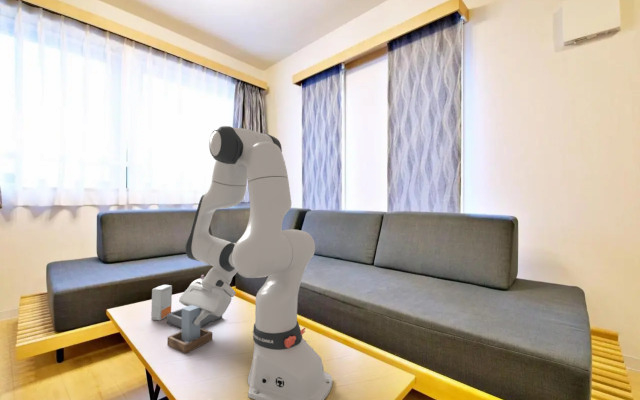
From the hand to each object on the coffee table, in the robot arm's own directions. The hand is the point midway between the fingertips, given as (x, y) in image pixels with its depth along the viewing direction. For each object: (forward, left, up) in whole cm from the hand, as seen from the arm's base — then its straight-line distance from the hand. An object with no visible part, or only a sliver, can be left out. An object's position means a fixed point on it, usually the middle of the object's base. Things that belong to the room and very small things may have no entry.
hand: (189, 322), depth 88 cm
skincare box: (+27, -7, -7) cm, 29 cm away
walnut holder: (0, -1, -7) cm, 7 cm away
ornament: (+29, -26, -7) cm, 39 cm away
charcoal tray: (+13, -12, -7) cm, 19 cm away
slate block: (0, -1, -5) cm, 5 cm away
